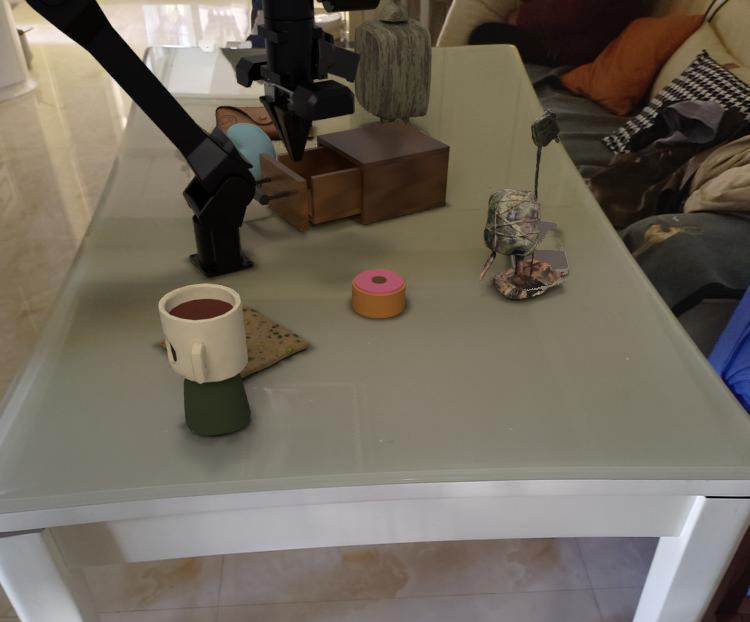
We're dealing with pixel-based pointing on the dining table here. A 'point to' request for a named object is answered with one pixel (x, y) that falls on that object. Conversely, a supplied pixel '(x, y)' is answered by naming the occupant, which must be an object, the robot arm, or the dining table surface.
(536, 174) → the plant with pod
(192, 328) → the character mug
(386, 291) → the donut
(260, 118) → the sunglasses case
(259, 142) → the light blue ball
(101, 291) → the dining table surface
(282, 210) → the drawer
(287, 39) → the robot arm
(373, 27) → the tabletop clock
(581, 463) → the dining table surface
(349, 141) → the cabinet
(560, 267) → the smartphone
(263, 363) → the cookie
